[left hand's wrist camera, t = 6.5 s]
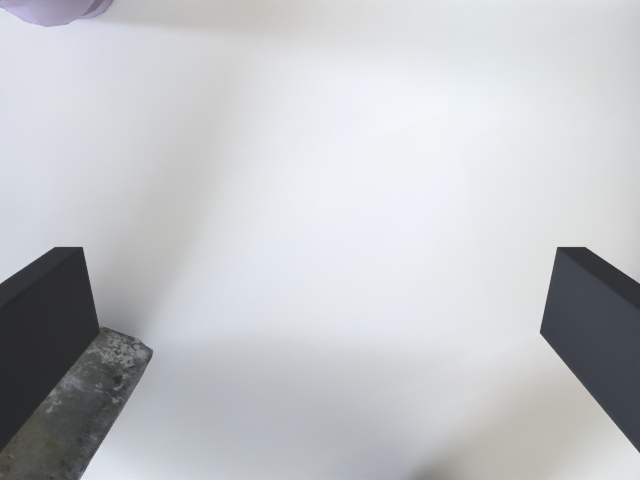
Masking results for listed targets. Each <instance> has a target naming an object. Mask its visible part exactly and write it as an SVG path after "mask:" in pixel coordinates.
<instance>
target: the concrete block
mask: <svg viewBox="0 0 640 480" xmlns="http://www.w3.org/2000/svg"><path fill="white" fill-rule="evenodd" d="M99 329H100V334H99V335H98V336H97V337H96V338H95V340H94V341H93V342H92V343H91V344H90V346H89V347H88V348H87V349H86V350H85V352H84V353H83V354H82V355H81V356H80V358H79V359H78V360H77V361H76V362H75V364H74V365H73V366H72V367H71V368H70V370H69V371H68V372H67V373H66V374H65V376H64V377H63V378H62V379H61V380H60V382H59V383H58V384H57V385H56V386H55V388H54V389H53V390H52V391H51V393H50V394H49V395H48V396H47V397H46V399H45V400H44V401H43V402H42V403H41V405H40V406H39V407H38V408H37V409H36V411H35V412H34V413H33V414H32V415H31V417H30V418H29V419H28V420H27V421H26V423H25V424H24V425H23V426H22V427H21V429H20V430H19V431H18V432H17V433H16V435H15V436H14V437H13V438H12V439H11V441H10V442H9V443H8V444H7V445H6V447H5V448H4V449H3V450H2V451H1V453H0V480H80V478H81V477H82V475H83V473H84V472H85V470H86V468H87V466H88V464H89V463H90V461H91V459H92V458H93V456H94V454H95V453H96V451H97V450H98V448H99V446H100V445H101V443H102V442H103V440H104V438H105V437H106V435H107V433H108V432H109V430H110V428H111V427H112V425H113V423H114V422H115V420H116V419H117V417H118V415H119V414H120V412H121V411H122V409H123V407H124V405H125V404H126V402H127V400H128V399H129V397H130V395H131V394H132V392H133V390H134V388H135V387H136V385H137V384H138V382H139V380H140V379H141V377H142V375H143V373H144V371H145V369H146V367H147V365H148V363H149V361H150V359H151V358H152V354H153V350H152V349H150V348H148V347H147V346H145V345H144V344H143V343H142V342H141V341H140V340H138V339H136V338H134V337H131V336H127V335H125V334H122V333H119V332H116V331H113V330H111V329H108V328H105V327H103V326H99Z"/></svg>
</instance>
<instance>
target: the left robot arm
mask: <svg viewBox="0 0 640 480" xmlns="http://www.w3.org/2000/svg"><path fill="white" fill-rule="evenodd" d="M99 334H100V329H99V324H98V320H97V315H96V310H95V305H94V300H93V295H92V290H91V285H90V281H89V276H88V271H87V266H86V261H85V256H84V251H83V247H54V248H53V249H51V250H50V251H48V252H47V253H45V254H44V255H42V256H41V257H39V258H38V259H36V260H35V261H34V262H32V263H31V264H29V265H28V266H26V267H25V268H23V269H22V270H20V271H19V272H17V273H16V274H14V275H13V276H11V277H10V278H8V279H7V280H5V281H4V282H2V283H1V284H0V453H1V451H2V450H3V449H4V448H5V447H6V445H7V444H8V443H9V442H10V441H11V439H12V438H13V437H14V436H15V435H16V433H17V432H18V431H19V430H20V429H21V427H22V426H23V425H24V424H25V423H26V421H27V420H28V419H29V418H30V417H31V415H32V414H33V413H34V412H35V411H36V409H37V408H38V407H39V406H40V405H41V403H42V402H43V401H44V400H45V399H46V397H47V396H48V395H49V394H50V393H51V391H52V390H53V389H54V388H55V386H56V385H57V384H58V383H59V382H60V380H61V379H62V378H63V377H64V376H65V374H66V373H67V372H68V371H69V370H70V368H71V367H72V366H73V365H74V364H75V362H76V361H77V360H78V359H79V358H80V356H81V355H82V354H83V353H84V352H85V350H86V349H87V348H88V347H89V346H90V344H91V343H92V342H93V341H94V340H95V338H96V337H97V336H98V335H99ZM540 334H541V335H542V336H543V337H544V338H545V340H546V341H547V342H548V343H549V344H550V346H551V347H552V348H553V349H554V350H555V352H556V353H557V354H558V355H559V356H560V358H561V359H562V360H563V361H564V362H565V364H566V365H567V366H568V367H569V368H570V370H571V371H572V372H573V373H574V374H575V376H576V377H577V378H578V379H579V380H580V382H581V383H582V384H583V385H584V386H585V388H586V389H587V390H588V391H589V393H590V394H591V395H592V396H593V397H594V399H595V400H596V401H597V402H598V403H599V405H600V406H601V407H602V408H603V409H604V411H605V412H606V413H607V414H608V415H609V417H610V418H611V419H612V420H613V421H614V423H615V424H616V425H617V426H618V427H619V429H620V430H621V431H622V432H623V433H624V435H625V436H626V437H627V438H628V439H629V441H630V442H631V443H632V444H633V445H634V447H635V448H636V449H637V450H638V451H639V453H640V284H639V283H638V282H636V281H635V280H633V279H632V278H630V277H629V276H627V275H626V274H624V273H623V272H621V271H620V270H618V269H617V268H615V267H614V266H612V265H611V264H609V263H608V262H606V261H605V260H604V259H602V258H601V257H599V256H598V255H596V254H595V253H593V252H592V251H590V250H589V249H587V248H586V247H557V251H556V256H555V261H554V266H553V271H552V276H551V281H550V285H549V290H548V295H547V300H546V305H545V310H544V315H543V320H542V324H541V329H540Z"/></svg>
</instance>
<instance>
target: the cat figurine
mask: <svg viewBox="0 0 640 480" xmlns="http://www.w3.org/2000/svg"><path fill="white" fill-rule="evenodd" d="M112 1H113V0H0V8H4V9H5V10H7V11H8V12H10V13H12V14H13V15H15V16H17V17H18V18H20V19H22V20H23V21H25V22H28V23H32V24H37V25H41V26H45V27H51V26H58V25H65V24H69V23H70V22H72V21H74V20H76V19H77V18H79V19H84V18H93V17H95V16H97V15H99V14H101V13H103V12H104V11H105V10H106V9H107V8H108V7H109V6H110V4H111V3H112Z"/></svg>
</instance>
